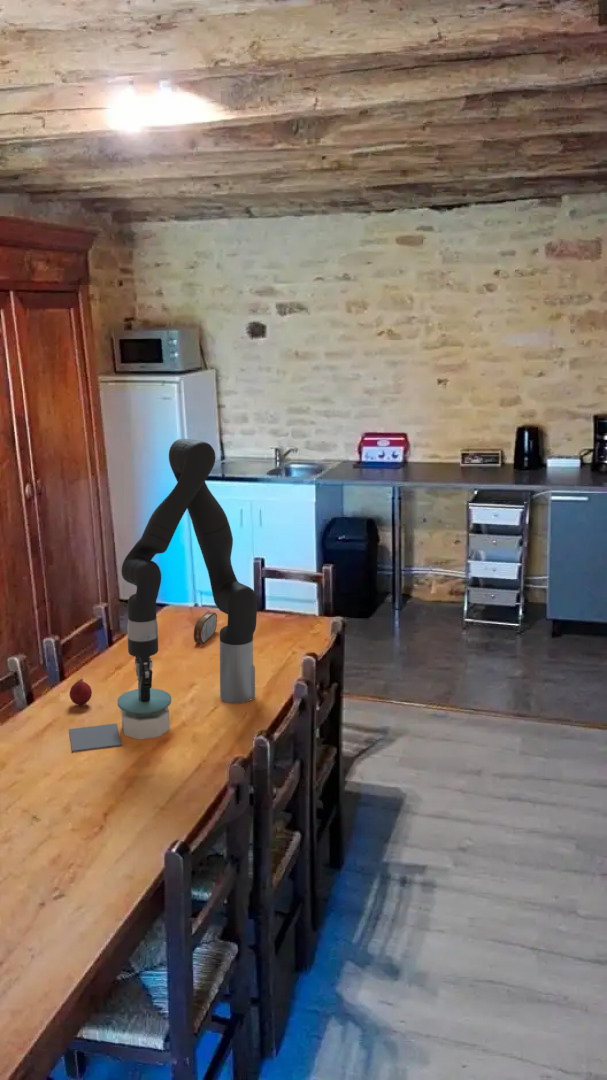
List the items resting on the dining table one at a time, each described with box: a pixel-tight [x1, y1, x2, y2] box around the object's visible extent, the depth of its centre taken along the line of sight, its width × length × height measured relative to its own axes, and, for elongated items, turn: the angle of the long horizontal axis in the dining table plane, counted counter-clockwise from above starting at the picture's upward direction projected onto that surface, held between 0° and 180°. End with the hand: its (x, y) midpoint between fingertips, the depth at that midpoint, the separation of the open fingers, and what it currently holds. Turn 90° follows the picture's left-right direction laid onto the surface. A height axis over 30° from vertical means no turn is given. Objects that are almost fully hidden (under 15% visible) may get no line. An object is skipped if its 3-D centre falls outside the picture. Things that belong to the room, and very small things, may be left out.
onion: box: [69, 677, 92, 707], centre depth 240 cm, size 6×6×8 cm
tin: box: [193, 610, 218, 644], centre depth 291 cm, size 15×3×8 cm, turn 164°
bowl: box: [120, 706, 171, 740], centre depth 228 cm, size 12×12×5 cm
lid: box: [116, 681, 172, 714], centre depth 226 cm, size 14×14×5 cm
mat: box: [68, 722, 123, 753], centre depth 223 cm, size 12×12×1 cm
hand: (144, 697), depth 227 cm, fingers closed on lid, 3 cm apart
